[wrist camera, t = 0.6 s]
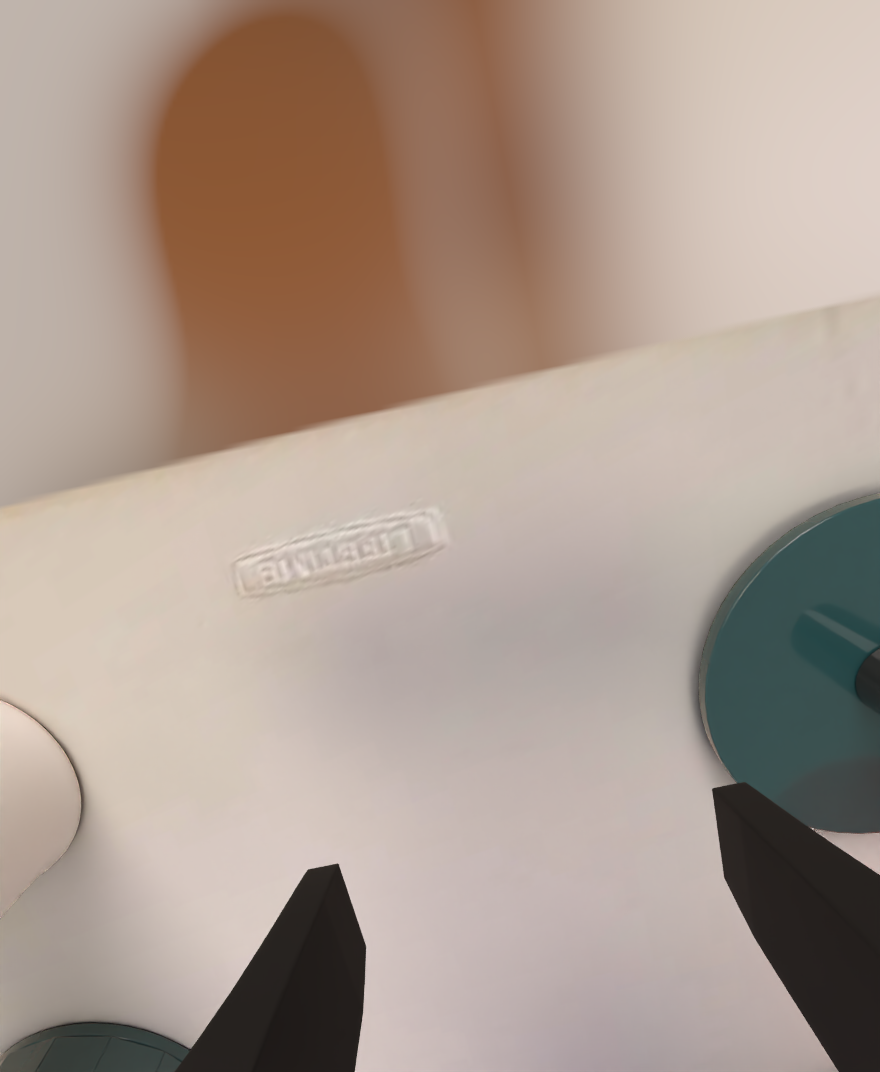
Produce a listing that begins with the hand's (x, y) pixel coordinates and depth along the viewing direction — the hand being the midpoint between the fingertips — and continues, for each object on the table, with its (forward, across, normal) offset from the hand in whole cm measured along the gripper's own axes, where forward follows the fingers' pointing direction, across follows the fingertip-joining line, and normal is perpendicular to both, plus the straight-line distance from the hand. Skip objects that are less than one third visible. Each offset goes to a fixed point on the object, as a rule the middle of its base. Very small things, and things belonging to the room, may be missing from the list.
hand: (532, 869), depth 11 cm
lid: (+9, -13, +4) cm, 16 cm away
